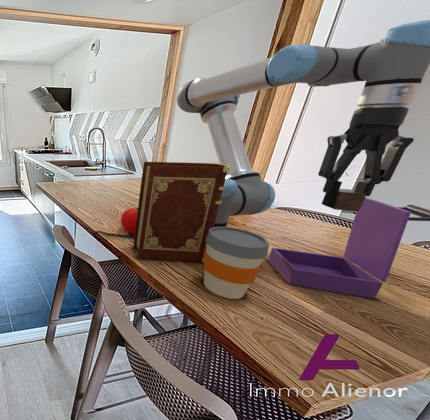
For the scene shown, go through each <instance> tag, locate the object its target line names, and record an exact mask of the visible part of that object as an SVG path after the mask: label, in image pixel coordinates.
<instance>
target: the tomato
mask: <svg viewBox="0 0 430 420" xmlns="http://www.w3.org/2000/svg"><path fill="white" fill-rule="evenodd" d="M137 212H138V207H133V208H132V207H128V208H127V209H125V210H124V211H123V212H122V214H121V216H120V224H121V227H122V228H123V229H124V230H125V232H127V233H128V234H129V235H135V228H136V220H137Z"/></svg>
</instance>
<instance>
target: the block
mask: <svg viewBox="0 0 430 420" xmlns="http://www.w3.org/2000/svg"><path fill="white" fill-rule="evenodd" d="M365 195H366V194H365V193H362V192H358V191H355V189H350V188H349V189H348V188H340V189H339V191H338V193H337V196H336V198H335V201H334V203H333V206H332V207H329V208H330V209H333V210H337V211H348V212H356V211H357V212H358V211H359V209H360V207H361V204H362V202H363V200H364V198H365Z"/></svg>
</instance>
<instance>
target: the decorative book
mask: <svg viewBox="0 0 430 420" xmlns="http://www.w3.org/2000/svg"><path fill="white" fill-rule="evenodd" d="M229 170H230V166H228V165H224V164H220V163H219V162H218V163H217V162H209V163H208V162H179V161H177V162H171V161H143V167H142V174H141V181H140V189H139V197H138V206H137V208H138V212H137V220H136V228H135V234H134V235H133V236H134V237H133V245H132V248H133V249H138V251H137V252H138V253H137V259H145V260H157V261H158V260H159V261H176V262H177V261H179V262H200V263H203V261H204V250H205V248H206V246H207V243H206V237H207V235H208V232H209V230H210V229H211V228H213V227H214V224H215V220H216V216H217V212H218V208H219V204H221V202H222V200H221V195H222V191H223V190H224V189H225V185H224V183H225V179H226V174H227V172H229Z"/></svg>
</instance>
